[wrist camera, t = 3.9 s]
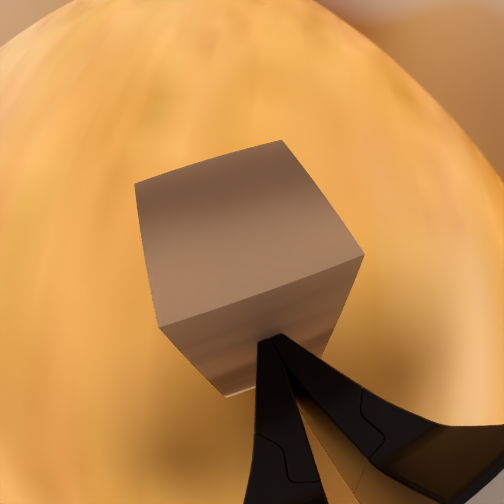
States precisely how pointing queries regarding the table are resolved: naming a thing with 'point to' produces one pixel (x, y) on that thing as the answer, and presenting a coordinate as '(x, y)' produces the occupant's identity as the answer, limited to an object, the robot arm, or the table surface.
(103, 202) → the table surface
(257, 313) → the walnut block
